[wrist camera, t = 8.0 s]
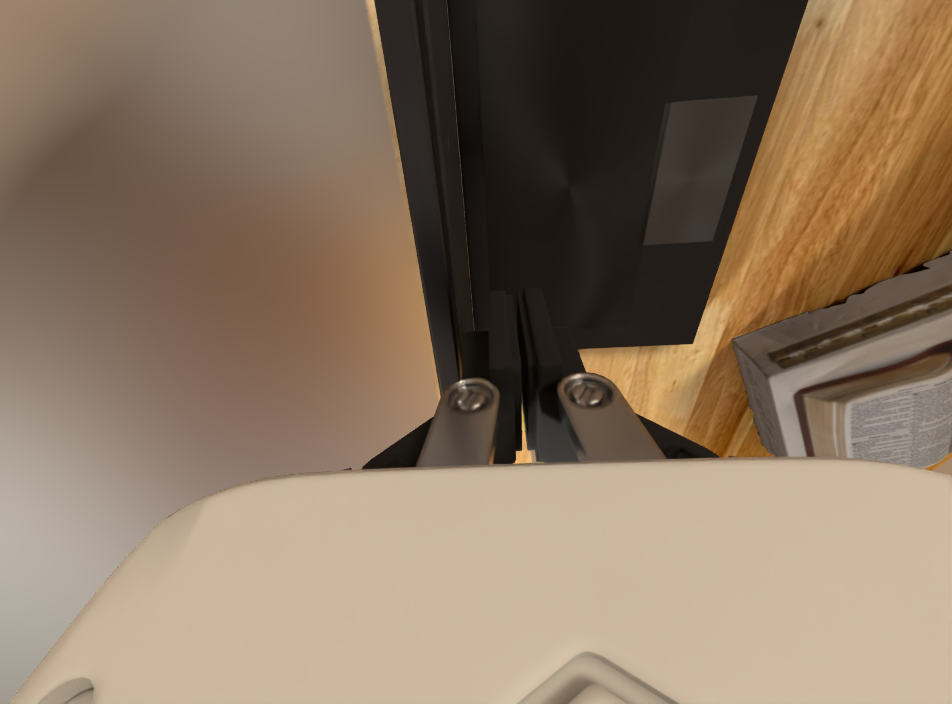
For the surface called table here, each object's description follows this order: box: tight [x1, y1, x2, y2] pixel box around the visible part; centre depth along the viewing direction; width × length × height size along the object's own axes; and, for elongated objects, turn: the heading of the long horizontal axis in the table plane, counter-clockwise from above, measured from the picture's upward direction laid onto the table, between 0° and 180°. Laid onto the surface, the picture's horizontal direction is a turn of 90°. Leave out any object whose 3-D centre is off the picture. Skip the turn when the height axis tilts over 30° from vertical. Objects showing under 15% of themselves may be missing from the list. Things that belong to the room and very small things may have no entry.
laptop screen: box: [374, 0, 474, 396], centre depth 19 cm, size 21×30×1 cm
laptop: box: [447, 0, 808, 349], centre depth 28 cm, size 21×30×2 cm
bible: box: [732, 250, 952, 469], centre depth 34 cm, size 23×27×10 cm
